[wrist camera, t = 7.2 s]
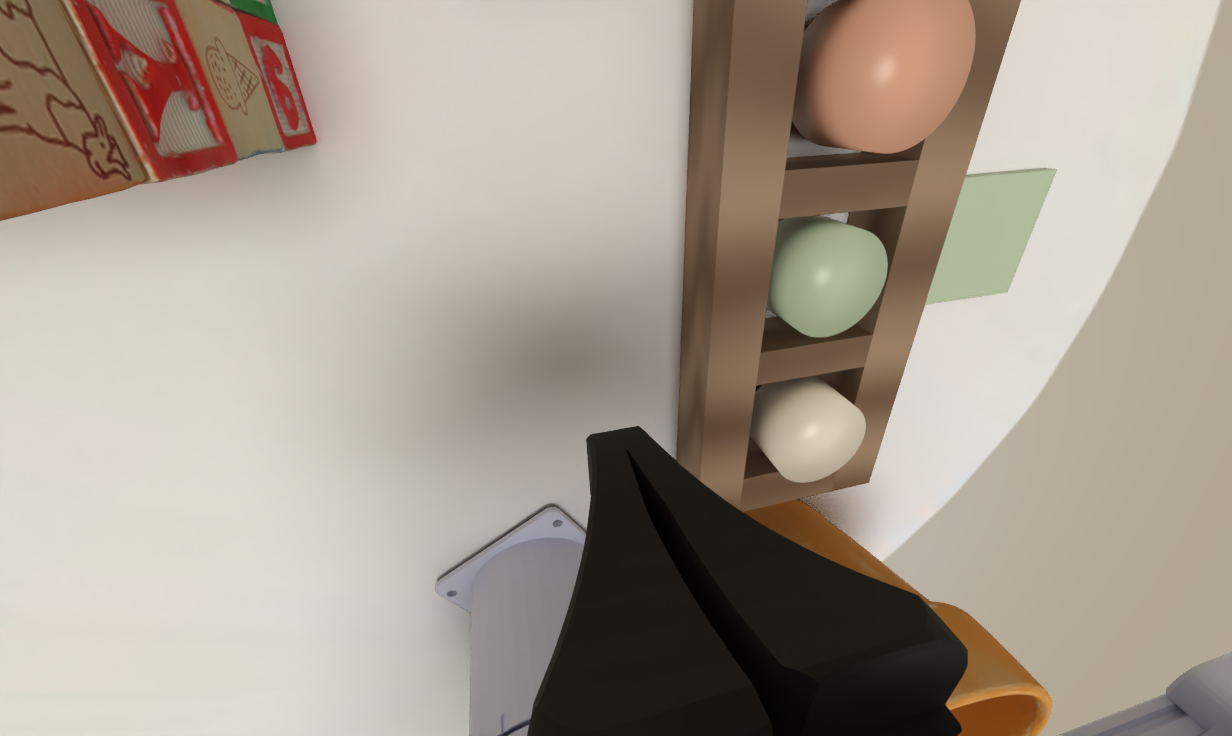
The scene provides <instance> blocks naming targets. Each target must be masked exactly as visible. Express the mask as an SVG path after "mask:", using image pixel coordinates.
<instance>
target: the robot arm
mask: <svg viewBox="0 0 1232 736" xmlns="http://www.w3.org/2000/svg"><path fill="white" fill-rule="evenodd" d="M586 441H587V454H588V468H589V481H590V494H591V501H590V509H589V517H588V526H587V532H585V531H583V530H582V529H581V528H580V527H579V526H578V525H577V524H576V523H574V522H573V521H572V520H571V519H570V518H569V517H568V516H567V515H565V514H564V513H563V512H562V511H561V510H560V509H558V508H557V507H548V508H546V509H545V510H543V511H542V512H540V513H539V514H537V515H536V516H534V517H533V518H531V519H530V520H528V521H527V522H525V523H524V524H522V525H521V526H519V527H518V528H516V529H515V530H513V531H512V532H510V533H509V534H507V535H506V536H504V537H503V538H501V539H500V540H498V541H497V542H495V543H494V544H492V545H491V546H489V547H488V548H486V549H485V550H483V551H482V552H480V553H479V554H477V555H476V556H474V557H473V558H471V559H470V560H468V561H467V562H465V563H464V564H462V565H461V566H459V567H458V568H456V569H455V570H453V571H452V572H450V573H449V574H447V575H446V576H444V577H443V578H441V579H440V580H439V581H437V583H436V587H435V591H436V593H437V594H439V595H441V596H442V597H444V598H446V599H447V600H449V601H451V602H453V603H454V604H456V605H458V606H460V607H461V608H463V609H465V610H466V611H468V612H470V613H471V662H470V720H469V736H957V735H958V734H960V733H961V731H962V728H961V725H960V723H959V722H958V720H957V719H956V718H955V716H954V715H953V714H952V713H951V711H950V710H949V709H948V707H947V706H946V705H945V704H946V702H947V701H948V699H949V697H950V696H951V694H952V693H953V691H954V689H955V688H956V686H957V685H958V683H959V681H960V680H961V678H962V677H963V675H964V673H965V670H966V668H967V666H968V650H967V648H966V647H965V646H964V644H963V643H962V642H961V641H960V640H959V639H958V637H957V636H956V635H955V634H954V633H953V632H952V631H951V629H950V628H949V627H948V626H947V625H946V624H945V623H944V621H943V620H942V619H941V618H940V617H939V616H938V615H937V614H936V613H935V612H934V610H933V609H932V608H931V607H930V606H929V605H928V604H927V603H926V602H925V601H924V600H923V599H922V598H921V597H920V596H919V595H916V594H914V593H911V592H909V591H906V590H903V589H901V588H898V587H895V586H893V585H890V584H888V583H885V582H882V581H880V580H877V579H874V578H872V577H869V576H866V575H864V574H861V573H859V572H857V571H854V570H852V569H850V568H848V567H845V566H843V565H841V564H839V563H836V562H834V561H832V560H830V559H827V558H825V557H823V556H821V555H819V554H817V553H815V552H813V551H811V550H809V549H807V548H805V547H803V546H801V545H799V544H797V543H795V542H793V541H791V540H790V539H788V538H786V537H784V536H782V535H780V534H778V533H776V532H775V531H773V530H771V529H769V528H768V527H766V526H764V525H763V524H761V523H759V522H758V521H756V520H755V519H753V518H751V517H750V516H748V515H747V514H745V513H743V512H742V511H740V510H739V509H737V508H736V507H734V506H733V505H732V504H730V503H729V502H727V501H726V500H724V499H723V498H722V497H720V496H719V495H718V494H716V493H715V492H714V491H712V490H711V489H710V488H708V487H707V486H706V485H705V484H703V483H702V482H701V481H700V480H698V479H697V478H696V477H695V476H694V475H692V474H691V473H690V472H689V471H688V470H686V469H685V468H684V467H683V466H682V465H680V464H679V463H678V462H677V461H676V460H675V459H674V458H673V457H671V456H670V455H669V454H668V453H667V452H666V451H665V450H664V449H663V448H662V447H661V446H660V445H658V444H657V443H656V442H655V441H654V440H653V439H652V438H651V437H650V436H649V435H648V434H647V433H646V432H645V431H644V430H643V429H642V428H640V427H639V426H636V427H630V428H624V429H619V430H613V431H607V432H602V433H596V434H591V435H590V436H589V437H588V438H587V439H586ZM556 520H559V521H556ZM554 521H556V522H554ZM1057 736H1232V652H1231V653H1229V654H1226V655H1223V656H1220V657H1218V658H1215V659H1212V660H1210V661H1207V662H1204V663H1202V664H1199V665H1197V666H1195V667H1193V668H1191V669H1190V670H1188V671H1186V672H1185V673H1183V674H1182V675H1181V676H1179V677H1178V678H1177V679H1176V680H1175V681H1174V682H1173V683H1172V684H1171V685H1170V686H1169V687H1168V688H1167V689H1166V694H1164V695H1161V696H1158V697H1156V698H1153V699H1151V700H1148V701H1145V702H1143V703H1140V704H1137V705H1135V706H1132V707H1130V708H1127V709H1125V710H1122V711H1119V712H1117V713H1114V714H1112V715H1109V716H1107V717H1104V718H1101V719H1099V720H1096V721H1094V722H1091V723H1088V724H1086V725H1083V726H1081V727H1078V728H1075V729H1073V730H1070V731H1068V732H1065V733H1063V734H1060V735H1057Z"/></svg>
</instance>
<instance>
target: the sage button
mask: <svg viewBox="0 0 1232 736" xmlns="http://www.w3.org/2000/svg"><path fill="white" fill-rule="evenodd" d="M887 267H888V262H887V254H886V251H885V248H884V246H883V244H882V242H881V241H880V240H879V239H878V237H876V236H875V235H874V234H873V233H871V232H869V231H866V230H863V229H860V228H857V227H854V226H851V225H848V224H845V223H842V222H839V221H836V220H833V219H830V218H827V217H824V216H821V215H814V216H804V217H794V218H785V219H783V220H781V221H780V222H778V226H777V233H776V241H775V248H774V256H773V263H772V271H771V278H770V286H769V293H768V300H767V309H769V310H770V311H771V312H773V313H774V314H776V315H777V316H778V317H780V318H781V319H782V320H784V321H785V322H787V323H788V324H789V325H791V326H792V327H794V328H795V329H796V330H798V331H799V332H801V333H803V334H805V335H807V336H811V337H828V336H833V335H836V334H838V333H841V332H843V331H845V330H847V329H848V328H850V327H852V326H853V325H854V324H856V323H857V322H858V321H859V320H860V319H862V318H863V317H864V316H865V315H866V314H867V312H868V311H869V310H870V309H871V308H872V306H873V305H874V303H875V302H876V300H877V299H878V297H879V295H880V293H881V291H882V288H883V286H884V283H885V280H886V275H887Z"/></svg>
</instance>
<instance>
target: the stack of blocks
mask: <svg viewBox="0 0 1232 736" xmlns="http://www.w3.org/2000/svg"><path fill="white" fill-rule="evenodd" d="M314 144H316V137H315V134H314V131H313V128H312V124H311V121H310V118H309V115H308V112H307V109H306V105H305V102H304V99H303V96H302V93H301V90H300V87H299V83H298V80H297V77H296V74H295V71H294V68H293V65H292V62H291V59H290V56H289V52H288V50H287V47H286V43H285V40H284V37H283V33H282V31H281V29H280V28H279V26H278V24H277V21H276V18H275V15H274V12H273V8H272V5H271V2H270V0H0V221H2V220H6V219H10V218H14V217H18V216H22V215H26V214H31V213H35V212H39V211H42V210H46V209H50V208H53V207H57V206H61V205H64V204H68V203H72V202H77V201H82V200H87V199H91V198H95V197H98V196H102V195H106V194H110V193H114V192H118V191H122V190H125V189H127V188H130V187H133V186H136V185H138V184H146V183H156V182H163V181H167V180H171V179H176V178H181V177H186V176H191V175H195V174H199V173H203V172H206V171H209V170H212V169H215V168H219V167H223V166H227V165H231V164H235V163H236V162H237V161H238V160H243V159H246V158H249V157H252V156H255V155H258V154H266V153H282V152H286V151H291V150H294V149H297V148H300V147H304V146H309V145H314Z"/></svg>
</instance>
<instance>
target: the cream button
mask: <svg viewBox="0 0 1232 736" xmlns="http://www.w3.org/2000/svg"><path fill="white" fill-rule="evenodd" d="M865 430H866V422H865V418H864V415H863V413H862V412H861V411H860V410H859V409H858V408H857V407H856V406H854V405H853V404H852V403H851V402H849V401H848V400H847V399H846V398H845V397H843V396H842V395H841V394H840V393H838V392H837V391H836V390H835V389H833V388H832V387H831V386H830V385H828V384H827V383H826V382H825V381H824V380H822V379H821V378H820V377H819V376H817V375H814V376H808V377H802V378H796V379H791V380H785V381H779V382H774V383H768V384H764V385H762V386H761V387H760V388H759V389H758V390H757V392H756V393H755V397H754V405H753V412H752V420H751V427H750V436H751V438H752V439H753V440H754V441H755V443H756V444H757V445H758V446H759V448H760V449H761V450H762V451H763V453H764V454H765V455H766V456H767V457H768V459H769V460H770V461H771V462H772V464H773V465H774V466H775V467H776V469H777V470H778V471H779V472H780V474H781V475H782V476H783V477H785V478H786V479H788V480H790V481H793V482H799V483H806V482H813V481H816V480H819V479H822V478H825V477H827V476H829V475H831V474H832V473H834V472H836V471H837V470H838V469H840V468H841V467H842V466H844V465H845V464H846V463H847V462H848V461H849V460H850V459H851V458H852V457H853V455H854V454H855V453H856V451H857V450H858V448H859V447H860V445H861V443H862V441H863V438H864V435H865Z"/></svg>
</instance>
